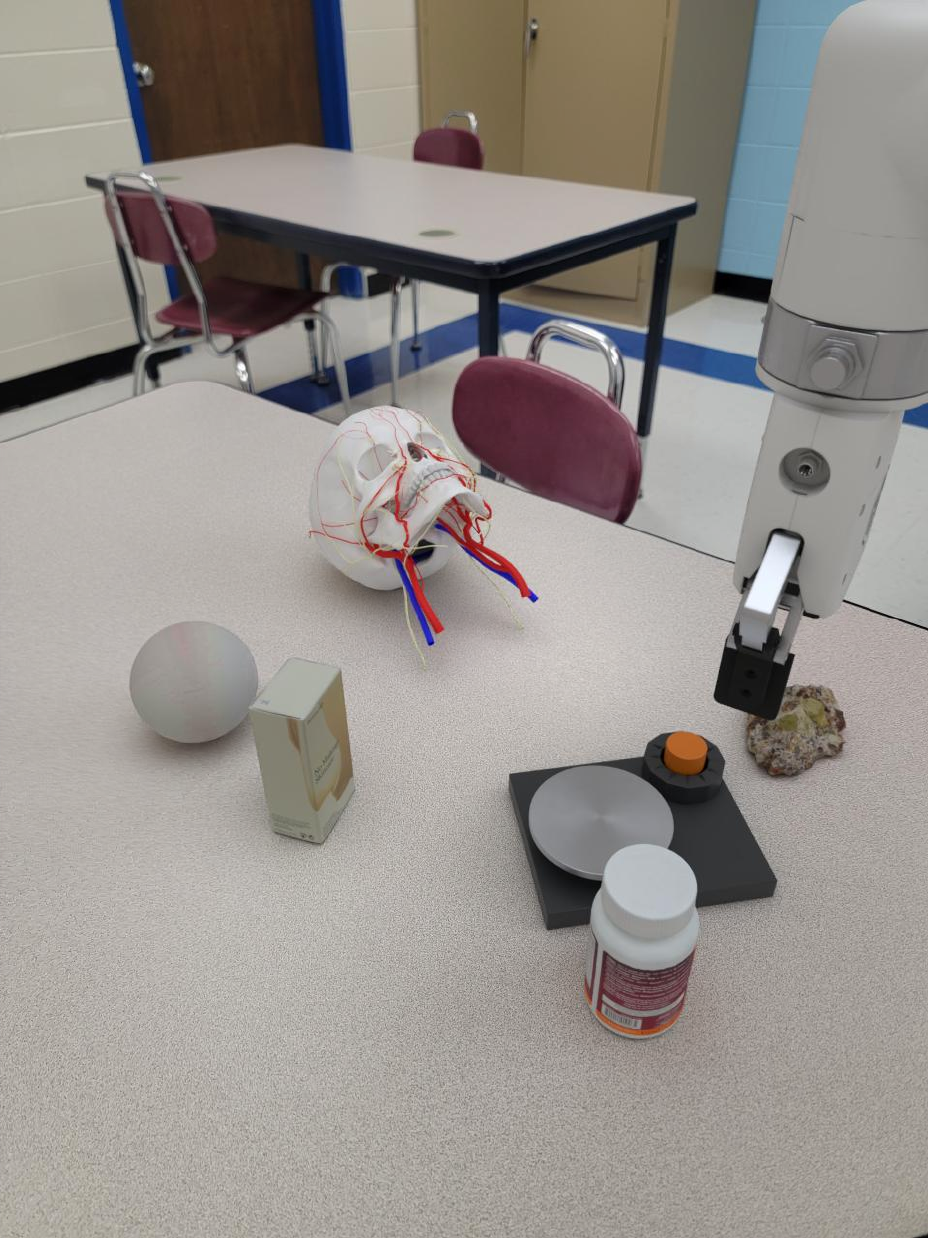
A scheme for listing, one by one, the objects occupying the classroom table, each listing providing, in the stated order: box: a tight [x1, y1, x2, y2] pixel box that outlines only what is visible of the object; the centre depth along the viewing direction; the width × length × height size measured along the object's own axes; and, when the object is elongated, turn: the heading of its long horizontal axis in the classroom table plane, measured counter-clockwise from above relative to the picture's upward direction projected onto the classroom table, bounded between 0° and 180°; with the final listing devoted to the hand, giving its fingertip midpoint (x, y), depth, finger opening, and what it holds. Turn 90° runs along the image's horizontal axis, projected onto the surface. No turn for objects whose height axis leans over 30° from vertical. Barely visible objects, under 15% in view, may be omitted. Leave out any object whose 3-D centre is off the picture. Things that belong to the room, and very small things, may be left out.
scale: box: [508, 730, 778, 931], centre depth 66 cm, size 16×14×4 cm
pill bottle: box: [583, 844, 700, 1040], centre depth 53 cm, size 6×6×11 cm
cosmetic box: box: [248, 656, 356, 844], centre depth 66 cm, size 6×4×12 cm
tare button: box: [664, 731, 707, 776], centre depth 68 cm, size 3×3×2 cm
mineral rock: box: [745, 683, 847, 776], centre depth 74 cm, size 11×4×8 cm
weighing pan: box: [529, 766, 674, 881], centre depth 63 cm, size 10×10×1 cm
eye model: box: [129, 620, 259, 744], centre depth 74 cm, size 10×10×10 cm
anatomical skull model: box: [308, 405, 539, 672], centre depth 87 cm, size 16×19×25 cm
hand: (770, 655), depth 49 cm, fingers open, 9 cm apart
